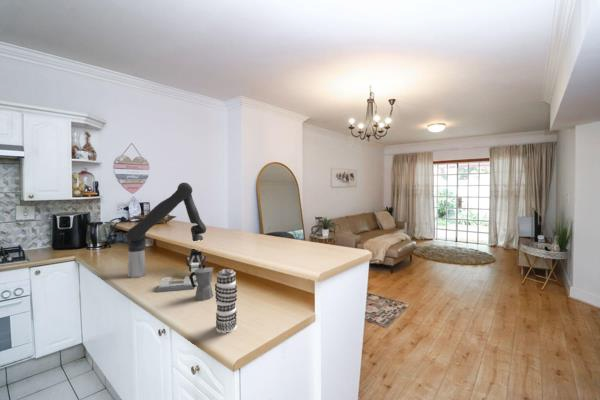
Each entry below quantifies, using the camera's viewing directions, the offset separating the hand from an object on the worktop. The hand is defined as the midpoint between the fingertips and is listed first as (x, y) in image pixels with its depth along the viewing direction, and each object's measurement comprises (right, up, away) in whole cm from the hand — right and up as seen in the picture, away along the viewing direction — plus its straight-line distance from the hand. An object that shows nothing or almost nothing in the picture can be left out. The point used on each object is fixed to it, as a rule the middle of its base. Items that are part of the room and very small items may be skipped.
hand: (194, 270), depth 176 cm
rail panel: (-4, -6, -15) cm, 17 cm away
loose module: (0, -5, +2) cm, 5 cm away
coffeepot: (+16, -7, -31) cm, 35 cm away
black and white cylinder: (+38, -8, -61) cm, 72 cm away
